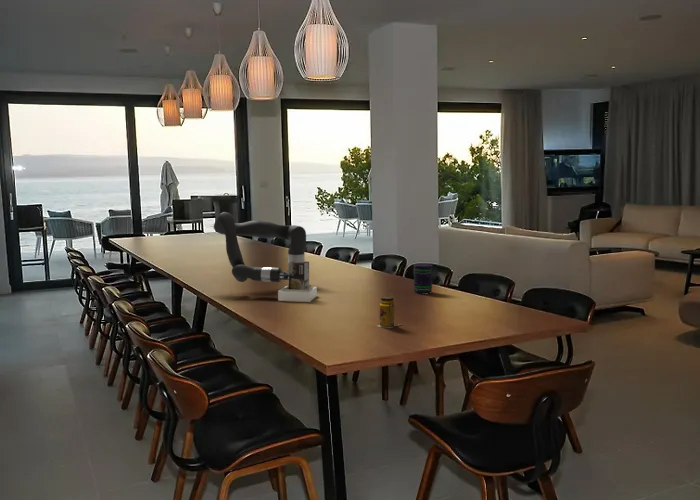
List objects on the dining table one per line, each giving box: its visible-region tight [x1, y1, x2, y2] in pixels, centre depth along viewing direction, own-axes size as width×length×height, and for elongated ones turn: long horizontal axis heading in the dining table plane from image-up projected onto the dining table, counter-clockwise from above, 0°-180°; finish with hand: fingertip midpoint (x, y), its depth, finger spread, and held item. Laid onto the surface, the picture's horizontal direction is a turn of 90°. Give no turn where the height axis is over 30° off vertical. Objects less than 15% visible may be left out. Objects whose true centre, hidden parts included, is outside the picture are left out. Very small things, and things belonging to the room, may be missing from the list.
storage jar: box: [412, 263, 433, 294], centre depth 347 cm, size 10×10×15 cm
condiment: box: [376, 296, 400, 329], centre depth 271 cm, size 7×8×12 cm
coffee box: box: [287, 260, 310, 290], centre depth 332 cm, size 9×6×16 cm
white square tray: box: [277, 285, 318, 303], centre depth 330 cm, size 16×16×5 cm
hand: (302, 275), depth 331 cm, fingers closed on coffee box, 7 cm apart
